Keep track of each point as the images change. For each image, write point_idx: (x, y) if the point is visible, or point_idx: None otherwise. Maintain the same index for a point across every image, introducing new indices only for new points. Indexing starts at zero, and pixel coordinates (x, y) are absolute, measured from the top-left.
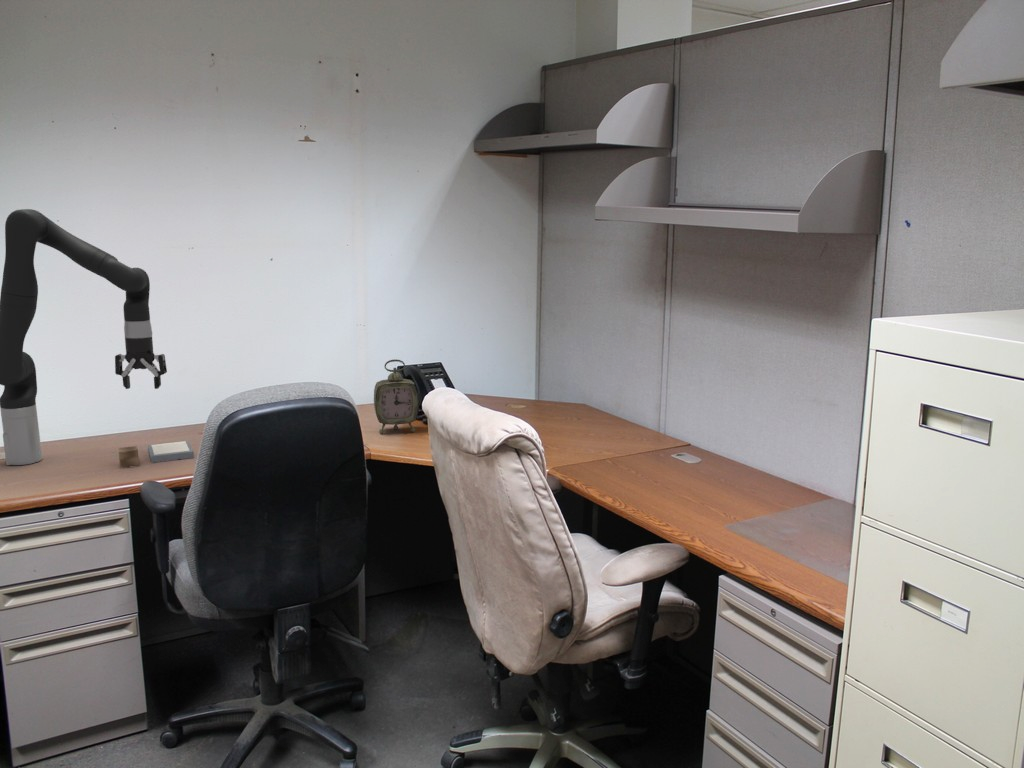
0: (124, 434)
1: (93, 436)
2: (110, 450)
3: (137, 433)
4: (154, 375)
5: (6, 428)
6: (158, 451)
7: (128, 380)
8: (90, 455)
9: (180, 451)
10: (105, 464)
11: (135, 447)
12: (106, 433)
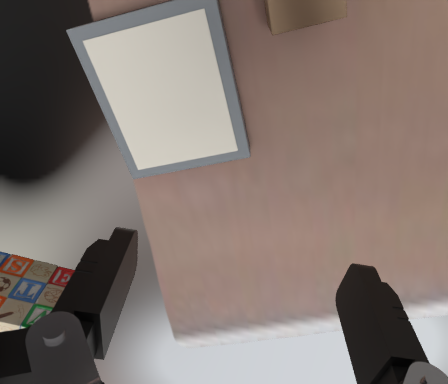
0: (326, 304)
1: None
2: (360, 183)
3: (296, 305)
4: (80, 327)
5: None
6: (197, 56)
7: (361, 337)
8: (421, 144)
9: (113, 34)
10: (381, 13)
11: (275, 7)
12: None
